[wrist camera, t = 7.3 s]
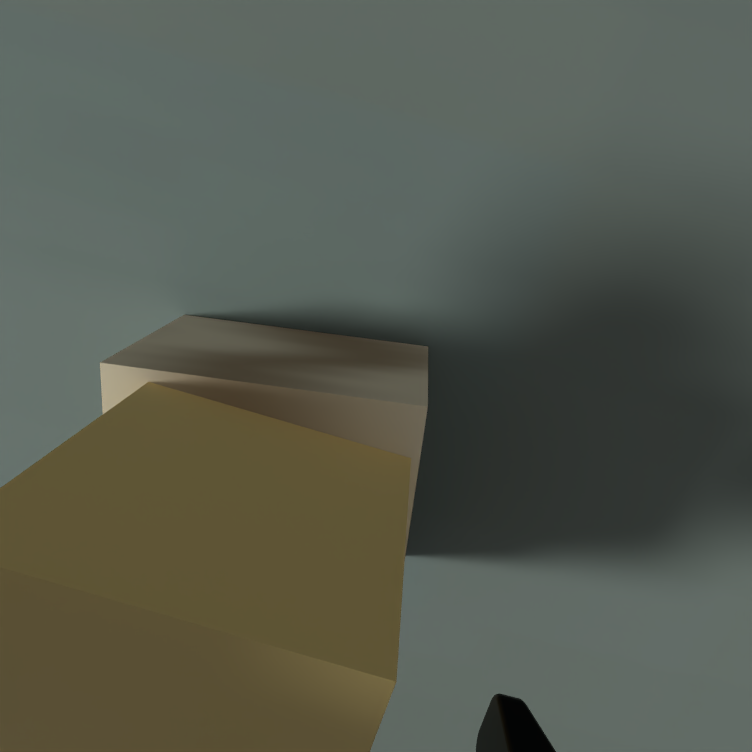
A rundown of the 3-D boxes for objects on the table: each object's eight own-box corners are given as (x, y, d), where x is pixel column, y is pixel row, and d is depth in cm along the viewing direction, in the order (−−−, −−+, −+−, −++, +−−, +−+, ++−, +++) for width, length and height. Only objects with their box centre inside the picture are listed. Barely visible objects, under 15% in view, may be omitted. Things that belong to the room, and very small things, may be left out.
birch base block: (428, 344, 14) (427, 407, 10) (398, 550, 16) (388, 666, 12) (186, 313, 14) (99, 362, 11) (186, 520, 16) (113, 623, 13)
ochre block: (410, 457, 11) (395, 681, 6) (343, 660, 12) (289, 960, 8) (148, 381, 11) (-78, 543, 6) (116, 594, 12) (-82, 856, 8)
